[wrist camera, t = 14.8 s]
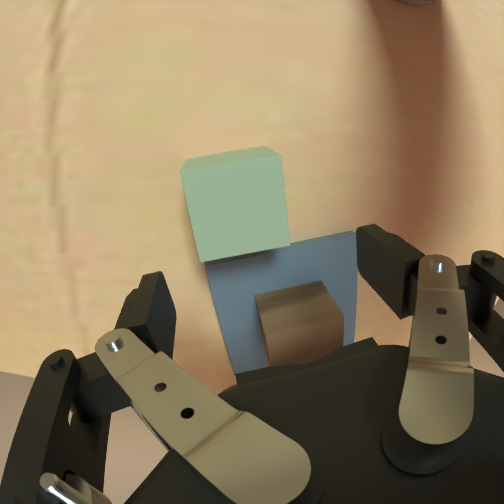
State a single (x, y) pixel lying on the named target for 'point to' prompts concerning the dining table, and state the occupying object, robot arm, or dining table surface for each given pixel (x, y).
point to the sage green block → (236, 202)
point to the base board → (275, 278)
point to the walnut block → (299, 324)
